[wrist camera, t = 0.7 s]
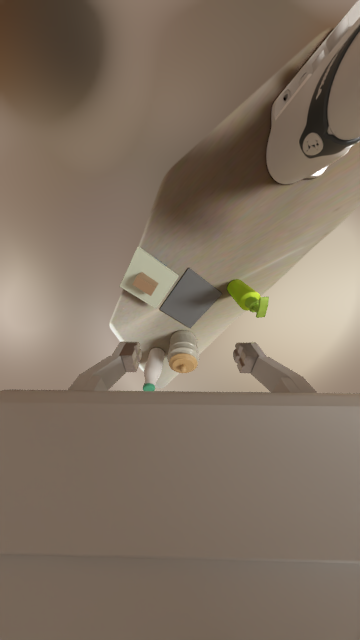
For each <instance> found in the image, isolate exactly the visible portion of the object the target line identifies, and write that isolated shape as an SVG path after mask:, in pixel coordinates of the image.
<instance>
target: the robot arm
mask: <svg viewBox="0 0 360 640" xmlns="http://www.w3.org/2000/svg"><path fill="white" fill-rule="evenodd" d="M284 97H285V98H286V101H284V99H283V98H284ZM359 141H360V0H358V1H357V2H356V3H355V4H354V6H353V7H352V8H351V9H350V10H349V11H348V13H347V14H346V15H345V16H344V17H343V19H342V20H341V21H340V22H339V23H338V25H337V26H336V27H335V28H334V29H333V31H332V32H331V33H330V34H329V36H328V37H327V38H326V39H325V40H324V42H323V43H322V44H321V45H320V46H319V48H318V49H317V50H316V51H315V53H314V54H313V55H312V56H311V57H310V59H309V60H308V61H307V62H306V64H305V65H304V66H303V67H302V68H301V70H300V71H299V72H298V73H297V74H296V76H295V77H294V78H293V79H292V81H291V82H290V83H289V84H288V85H287V87H286V88H285V89H284V90H283V91H282V93H281V94H280V95H279V96H278V98H277V99H276V100H275V102H274V103H273V106H272V112H271V132H270V136H269V140H268V145H267V154H266V159H267V167H268V170H269V173H270V175H271V176H272V178H273V179H274V180H275V181H277V182H278V183H281V184H292V183H295V182H298V181H300V180H302V179H305V178H316V177H318V176H320V175H321V174H322V173H323V172H324V171H325V169H326V168H327V167H328V165H330V164H331V163H333V162H335V161H336V160H338V159H340V158H341V157H343V156H344V155H345V154H347V153H348V152H349V149H350V148H351V147H352V146H353V145H355V144H356V143H358V142H359ZM235 347H236V349H235V350H234V352H233V357H234V360H235V362H236V363H238V365H237V367H238V369H239V371H240V373H251V374H252V375H253V376H254V377H255V378H256V379H257V380H258V381H259V382H260V383H262V384H263V385H264V386H265V387H266V388H267V389H268V390H269V391H270V392H271V393H266V392H265V393H263V392H175V391H108V389H110V388H111V386H112V385H113V384H115V383H116V382H117V381H118V380H119V379H120V378H121V377H122V376H123V375H124V374H125V373H126V372H136V371H137V368H138V366H139V364H138V362H139V361H140V360H141V355H142V352H141V349H140V343H139V342H120V343H119V345H118V347H117V348H116V349H115V351H114V353H113V354H112V356H109V357H107V358H106V359H104V360H102V361H101V362H99V363H97V364H96V365H94V366H93V367H91V368H89V369H88V370H86V371H85V372H83V373H82V374H80V375H79V376H78V377H77V379H76V380H75V381H74V382H73V384H72V385H71V386H70V388H69V389H68V390H3V391H0V640H360V393H356V394H355V393H353V394H351V393H317V392H316V391H315V390H314V389H313V388H312V387H311V385H310V384H309V383H308V382H307V381H306V380H305V379H304V378H303V377H302V376H300V375H298V374H297V373H295V372H293V371H292V370H290V369H288V368H287V367H285V366H283V365H281V364H280V363H278V362H277V361H275V360H273V359H271V358H270V357H267V356H266V355H265V354H264V353H263V351H262V350H261V348H260V347H259V346H258V345H257V344H256V343H237V344H236V345H235Z"/></svg>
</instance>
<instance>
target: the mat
mask: <svg viewBox="0 0 360 640" xmlns="http://www.w3.org/2000/svg"><path fill="white" fill-rule="evenodd" d="M221 295H222V293H221V292H219V291H218V290H217V289H216V288H214V287H213V286H212V285H210V284H209V283H208V282H207V281H205V280H204V279H203V278H201V277H200V276H199V275H198V274H196V273H195V272H194V271H192V270H191V269H190V268H188V270H187V271H186V273H185V274H184V275H183V277H182V278H181V280H180V281H179V283H178V284H177V285H176V287H175V288H174V290H173V291H172V292H171V294H170V295H169V297H168V298H167V300H166V301H165V302H164V304H163V305H162V307H161V308H160V310H161V311H163V312H164V313H166V314H168V315H169V316H171V317H173V318H174V319H176V320H178V321H179V322H181V323H183V324H184V325H186V326H187V327H189V328H191V327H192V326H193V325H194V324H195V323H196V321H197V320H198V319H199V318H200V317H201V316H202V315H203V314H204V313H205V312H206V311H207V310H208V309H209V308H210V306H211V305H212V304H213V303H214V302H215V301H216V300H217V299H218V298H219V297H220V296H221Z"/></svg>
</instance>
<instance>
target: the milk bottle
mask: <svg viewBox="0 0 360 640" xmlns="http://www.w3.org/2000/svg"><path fill="white" fill-rule="evenodd" d="M163 360H164V351H163V350H162V349H160V348H153V349H151V350H150V353H149V356H148V359H147V363H146V366H145V370H144V376H145V383H144V386H143V390H144V391H154V390H155V383H156V381H157V380H158V378H159V377H160V375H161V371H162V366H163Z"/></svg>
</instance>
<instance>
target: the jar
mask: <svg viewBox="0 0 360 640" xmlns="http://www.w3.org/2000/svg"><path fill="white" fill-rule="evenodd" d="M167 359H168V362H169V366H170V367H171V369H173V370H174V371H176V372H179V373H187V372H191V371H193V370H194V369H195V368H196V367H197V364H198V362H199V355H198V349H197V339H196V337H195V335H194V334H193V333H192V332H190V331H186V330H180V331H177V332H175V333H174V334H173V335H172V336H171V338H170V346H169V351H168V358H167Z"/></svg>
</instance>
